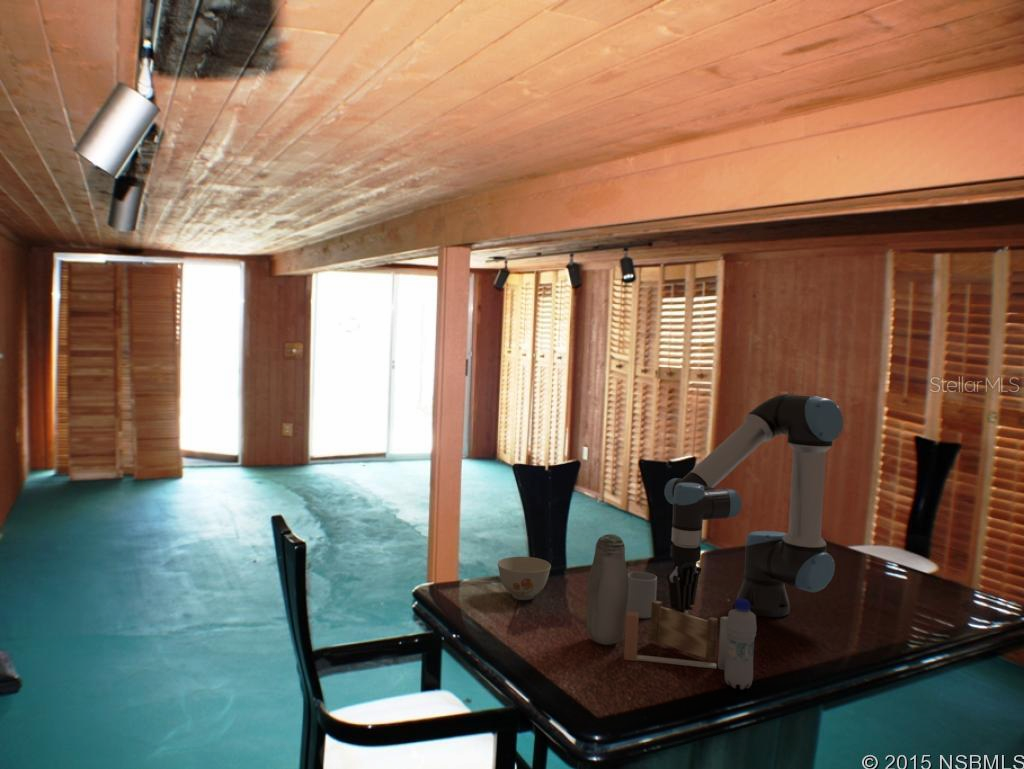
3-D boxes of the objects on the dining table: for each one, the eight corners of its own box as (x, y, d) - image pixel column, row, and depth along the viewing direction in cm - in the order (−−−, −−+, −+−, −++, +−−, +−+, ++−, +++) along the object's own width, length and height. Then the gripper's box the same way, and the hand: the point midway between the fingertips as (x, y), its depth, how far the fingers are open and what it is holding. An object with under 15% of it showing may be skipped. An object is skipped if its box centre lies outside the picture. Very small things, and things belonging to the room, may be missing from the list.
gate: (715, 658, 184) (717, 618, 184) (711, 660, 183) (713, 620, 183) (653, 637, 196) (655, 600, 196) (649, 639, 195) (651, 601, 194)
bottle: (718, 678, 176) (723, 594, 175) (746, 678, 176) (751, 594, 175) (729, 691, 169) (734, 604, 168) (758, 691, 170) (763, 604, 168)
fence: (730, 665, 183) (733, 617, 182) (732, 671, 180) (735, 622, 179) (624, 654, 187) (626, 607, 187) (624, 659, 184) (626, 611, 184)
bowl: (487, 600, 223) (489, 567, 222) (508, 585, 238) (509, 553, 237) (538, 609, 217) (540, 575, 216) (556, 593, 232) (558, 561, 231)
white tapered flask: (615, 653, 188) (621, 542, 186) (578, 643, 193) (583, 535, 191) (631, 641, 196) (636, 535, 194) (595, 632, 201) (600, 528, 200)
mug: (661, 616, 215) (663, 579, 214) (635, 620, 212) (637, 581, 211) (638, 603, 226) (639, 566, 225) (613, 605, 222) (615, 569, 222)
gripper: (686, 536, 200) (681, 623, 201) (659, 544, 191) (654, 636, 192) (712, 543, 195) (706, 632, 196) (685, 551, 185) (680, 645, 187)
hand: (680, 634), depth 194 cm, fingers closed
